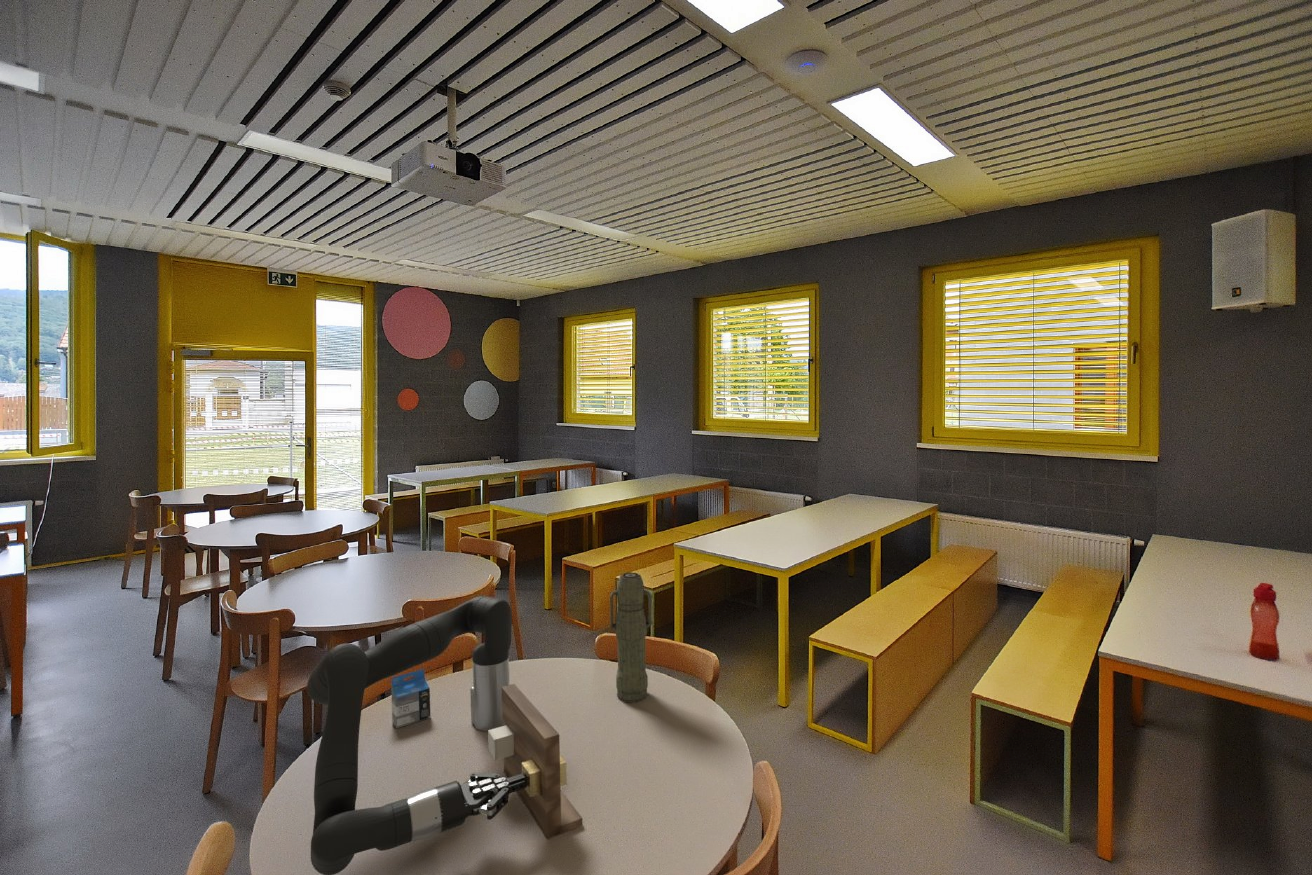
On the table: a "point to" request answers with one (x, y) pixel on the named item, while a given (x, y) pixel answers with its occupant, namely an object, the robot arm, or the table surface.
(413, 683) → the label tape cartridge
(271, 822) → the table surface
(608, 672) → the table surface
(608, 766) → the table surface
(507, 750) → the key white
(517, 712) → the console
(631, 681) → the thermos
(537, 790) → the yellow rectangular block
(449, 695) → the table surface
